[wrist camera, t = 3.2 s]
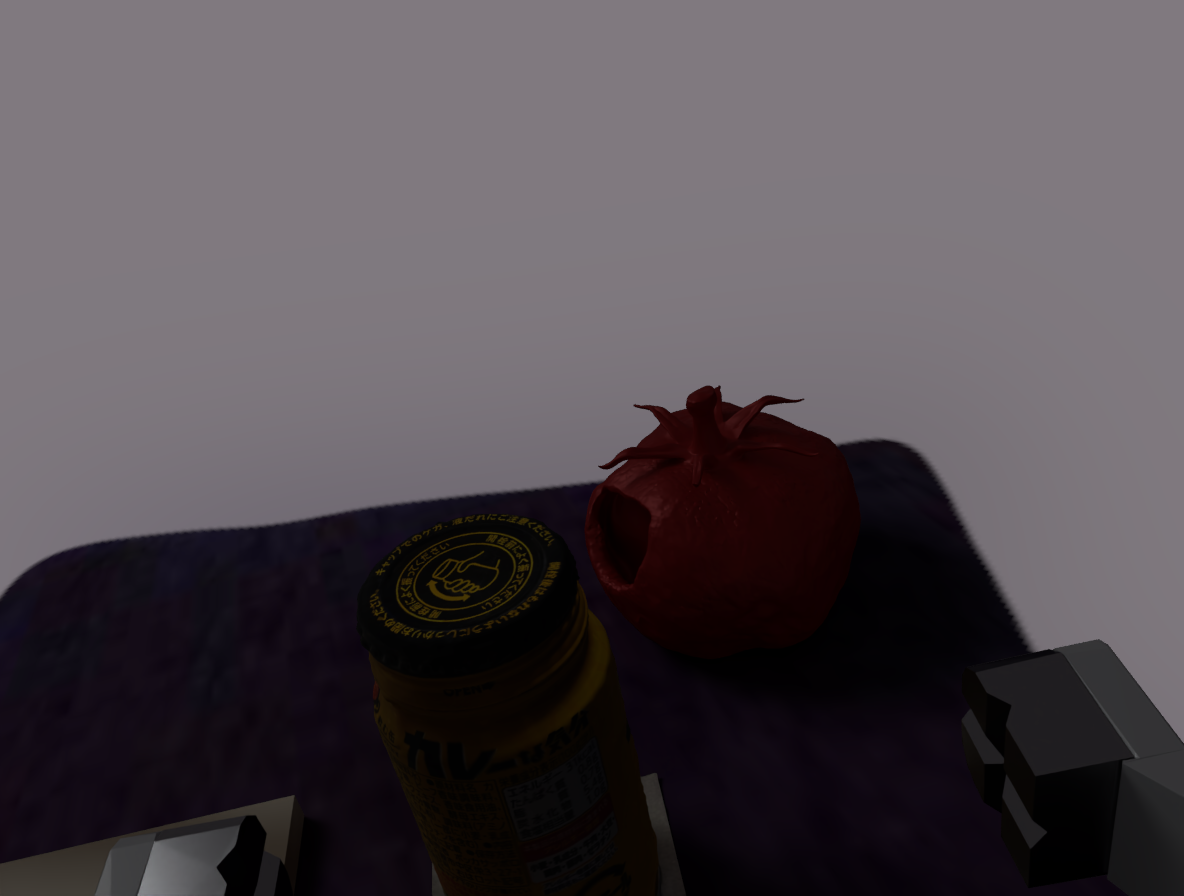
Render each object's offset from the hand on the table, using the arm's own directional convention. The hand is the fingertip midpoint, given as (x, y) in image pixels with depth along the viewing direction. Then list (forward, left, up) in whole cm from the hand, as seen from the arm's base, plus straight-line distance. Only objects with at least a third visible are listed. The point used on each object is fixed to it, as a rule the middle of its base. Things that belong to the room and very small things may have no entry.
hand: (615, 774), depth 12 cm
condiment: (+11, +3, -17) cm, 20 cm away
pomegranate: (+23, -5, -17) cm, 29 cm away
